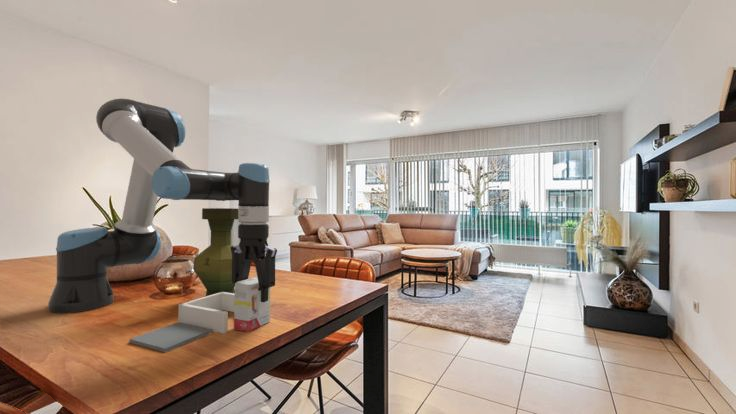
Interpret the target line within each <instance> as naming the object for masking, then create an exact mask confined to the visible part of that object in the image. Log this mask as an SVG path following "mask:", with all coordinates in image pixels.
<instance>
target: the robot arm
mask: <svg viewBox="0 0 736 414" xmlns="http://www.w3.org/2000/svg"><path fill="white" fill-rule="evenodd" d="M96 112H97V113H96V117H95V118H96V119H95V120H96V124H97V127H98V129H99V130H100V132H101V133H102V135H104V136H105V137H106V138H107V139H108V140H110V141H112V142H113V143H117V144H119V145H120V147H122V148H123V149H124V150H125V151H126V152H127V153H128V154H129V155H130V156H131V157H132V158H133V163H132V167H131V171H130V172H131V173H130V177H129V182H128V185H127V186H128V187H127V193H126V197H125V202H124V205H123V212H122V217H121V219H120V220H118V221H116V222H115V223H114V229H113V230H110V231H109V230H108V229H107V228H106V227H104V226H96V227H87V228H79V229H78V228H77V229H72V230H68V231H64V232H62V233H60V234H59V235H58V237H57V241H56V247H55V251H56V284H55V286H54V288H53V291H52V293H51V296H50V297H49V301H48V305H47V306H48V309H47V311H48V312H50V313H54V314H55V313H56V314H57V313H58V314H59V313H60V314H61V313H63V314H65V313H77V312H84V311H89V310H94V309H99V308H103V307H106V306H108V305H111V304H112V303H114V296H115V295H114V292H113V289H112V286H111V284H110V283H109V280H108V274H107V273H108V268H113V267H120V266H121V267H122V266H128V265H129V266H130V265H139V264H142V263H147V262H150V261H152V260H154V259H155V258H156V257H157V256H158V254H159V252H160V250H161V246H162V240H161V238H162V237H161V234H160V232H159V231H158V230H157V227H156V225H155V224H154V223H153V221H154V216H155V213H156V207H157V202H158V198H161V199H168V200H172V201H180V200H190V201H191V200H195V201H197V200H199V201H201V200H202V201H216V202H217V201H219V202H220V201H221V202H224V201H238V205H237V206H238V209H239V211H238V219H237V220H238V222H239V224H238V227H237V238H238V239H240V240H239V243H238V244H237V245H233V246H232V247H231V253H232V283H233V284H234V283H236V282H239V281H242V280H246V279H249V276H250V272H251V266H252V262H253V264H254V266H255V272H256V277H258V283H259V288H258V290H257V316H260V315H262V314H264V313H266V301H268V289H269V288H270V289H271V288H272V287H275V286H276V256H277V252H278V249H277V247H276V248H275V247H273V248H272V247H271V246H269V244H268V238H269V236H270V235H269V229H270V227H269V226H270V225H269V224H268V222H270V209H269V204H270V203H269V202H270V171H269V170H270V169H269V167H268V165H266V164H262V163H253V162H244V163H240V164H239V165H238V170H237V172H221V171H214V170H212V171H211V170H205V169H204V170H203V169H194V168H191V167H189V166H188V165H187V164H186V163H184V161H182V160H181V159H180V158H179V157H178V156H177V155H176V154H175V153H174V149H175V148H178V147H180V146H182V144H183V143H184V142H185V139H186V125H185V122H184V120H183V118H182V117H181V115H180V114H179V113H178V112H176V111H174V110H170V109H167V108H165V107H161V106H157V105H154V104H149V103H145V102H142V101H141V102H140V101H137V100H134V99H129V98H114V99H110V100H108V101H106V102H105V103H103V104H102V105H101V106H100V107H99V109H98V110H97V111H96Z"/></svg>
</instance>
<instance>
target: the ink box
mask: <svg viewBox="0 0 736 414" xmlns="http://www.w3.org/2000/svg"><path fill="white" fill-rule="evenodd" d="M258 288H259V283H258V277H257V276H253V277H250V278H248V279H246V280H242V281H239V282H236V283H235V287H234V290H235V306H234V312H233V317H234V318H233V329H234V330H237V331H242V332H247V333H248V332H252V331H253V330H256V329H257V328H259V327H262V326H264V325H266V324H267V323H270V322H271V287H270V288H269V289H268V301H266V313H264V314H262V315H260V316H257V290H258Z"/></svg>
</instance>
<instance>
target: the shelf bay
mask: <svg viewBox="0 0 736 414" xmlns="http://www.w3.org/2000/svg"><path fill="white" fill-rule="evenodd" d="M205 296H206V295H205ZM205 296H203V297H199V298H196V299H192V300H190V301H186V302H182V303H180V304H178V313H177V314H178V317H177V318H178V321H177V322H180V323H185V324H189V325H194V326H198V327H203V328H208V329H212V332H214V333H215V332H216V333H219V334H226V333H228V328H229V326H228V323H229V320H228V319H229V316H228V314H229V313H228V312H231V313H234V306H235V294H234V293H227V292H220V293H216V294H213V295H209V296H206V297H205Z"/></svg>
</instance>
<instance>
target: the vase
mask: <svg viewBox="0 0 736 414" xmlns="http://www.w3.org/2000/svg"><path fill="white" fill-rule="evenodd" d="M238 211H239V208H229V207H228V208H227V207H226V208H224V207H220V208H219V207H217V208H215V207H211V208H210V207H208V208H207V207H205V208H202V209H201V220H207V222H208V226H209V230H210V245H209V246H207V247H206V248H205V249H204V250H202V251H201V252H200V253H199V254H198V255H196V256H195V257H194V260H193V265H192V269H193V271H194V273H195V274H196V276H197V277H198V278H199V280H200V282H201V284H202V285H203V287H204V288H205V290H206V291H205V296H204V297H206V296H209V295H213V294H216V293H220V292H227V293H234V294H235V283H234V284H233V283H232V253H231V247H232V246H234V245H233V244H232V230H233V226H234V223H235V220H238Z"/></svg>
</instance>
